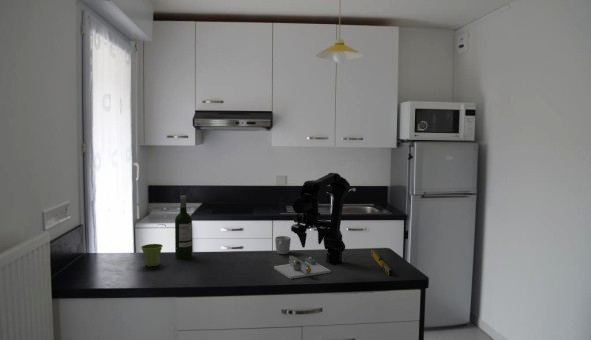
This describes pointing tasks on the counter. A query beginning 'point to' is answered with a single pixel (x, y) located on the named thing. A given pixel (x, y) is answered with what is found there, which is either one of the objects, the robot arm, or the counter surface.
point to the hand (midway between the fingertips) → (311, 245)
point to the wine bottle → (183, 232)
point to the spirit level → (381, 262)
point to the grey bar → (299, 265)
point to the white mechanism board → (292, 273)
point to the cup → (282, 244)
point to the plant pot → (152, 254)
